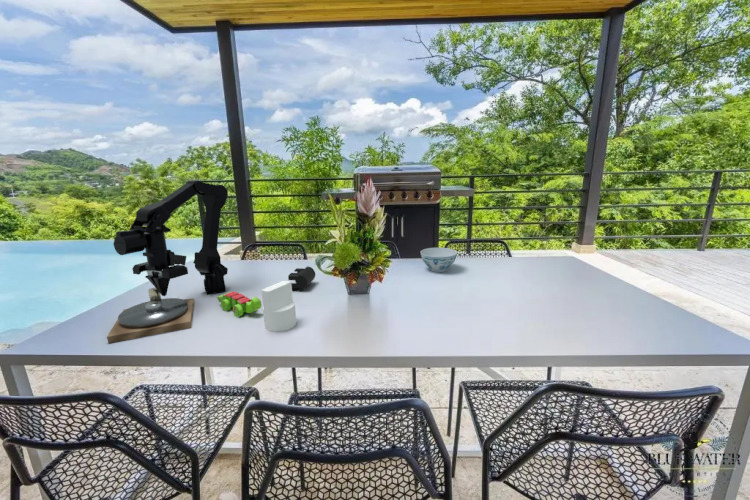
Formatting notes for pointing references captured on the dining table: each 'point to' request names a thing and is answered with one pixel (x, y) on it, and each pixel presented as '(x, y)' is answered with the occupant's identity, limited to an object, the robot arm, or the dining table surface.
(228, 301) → the toy crocodile
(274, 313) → the base with upright slab
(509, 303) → the dining table surface
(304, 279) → the end cap
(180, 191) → the robot arm
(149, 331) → the wheel base
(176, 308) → the handwheel
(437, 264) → the chinaware
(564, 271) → the dining table surface
